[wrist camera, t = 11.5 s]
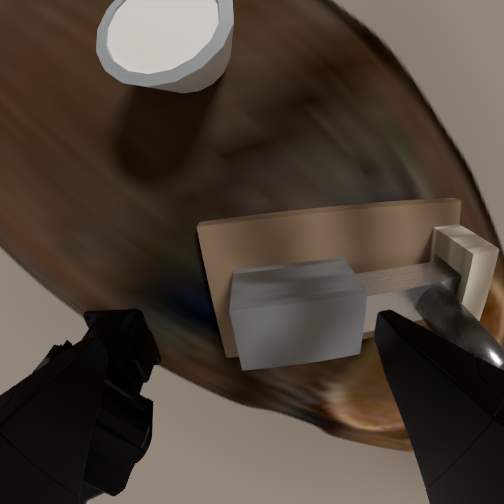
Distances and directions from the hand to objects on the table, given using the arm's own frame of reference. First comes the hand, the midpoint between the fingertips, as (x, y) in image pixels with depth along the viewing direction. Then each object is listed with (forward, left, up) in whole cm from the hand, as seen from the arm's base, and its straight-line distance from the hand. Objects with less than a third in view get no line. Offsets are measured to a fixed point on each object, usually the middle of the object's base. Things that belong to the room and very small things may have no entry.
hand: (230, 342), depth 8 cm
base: (+7, -6, -13) cm, 16 cm away
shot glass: (-2, +12, -13) cm, 18 cm away
